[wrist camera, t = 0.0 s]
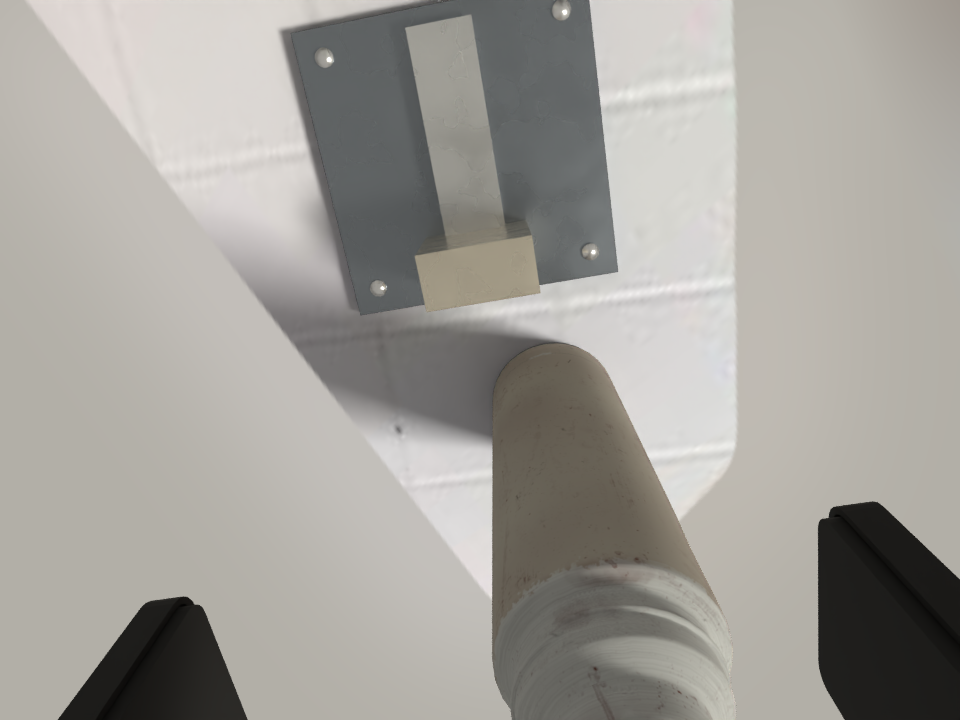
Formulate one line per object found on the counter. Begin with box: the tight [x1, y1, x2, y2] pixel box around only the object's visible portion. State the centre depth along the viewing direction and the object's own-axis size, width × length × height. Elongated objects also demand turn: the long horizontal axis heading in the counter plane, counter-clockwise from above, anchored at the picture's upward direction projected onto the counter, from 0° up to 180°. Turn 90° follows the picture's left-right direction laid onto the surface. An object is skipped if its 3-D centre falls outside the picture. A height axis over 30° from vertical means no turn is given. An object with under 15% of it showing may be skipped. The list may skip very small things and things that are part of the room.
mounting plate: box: [291, 0, 618, 315], centre depth 34 cm, size 16×16×7 cm
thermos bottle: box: [492, 343, 736, 720], centre depth 29 cm, size 8×8×28 cm
